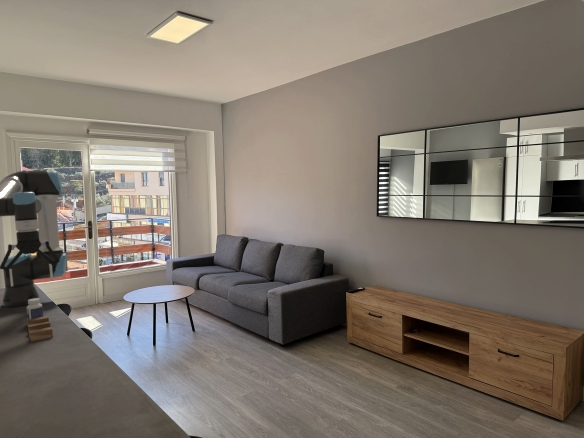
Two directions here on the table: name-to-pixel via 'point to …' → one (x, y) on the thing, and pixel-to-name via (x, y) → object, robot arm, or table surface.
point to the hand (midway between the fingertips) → (32, 282)
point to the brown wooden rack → (39, 328)
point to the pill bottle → (34, 309)
